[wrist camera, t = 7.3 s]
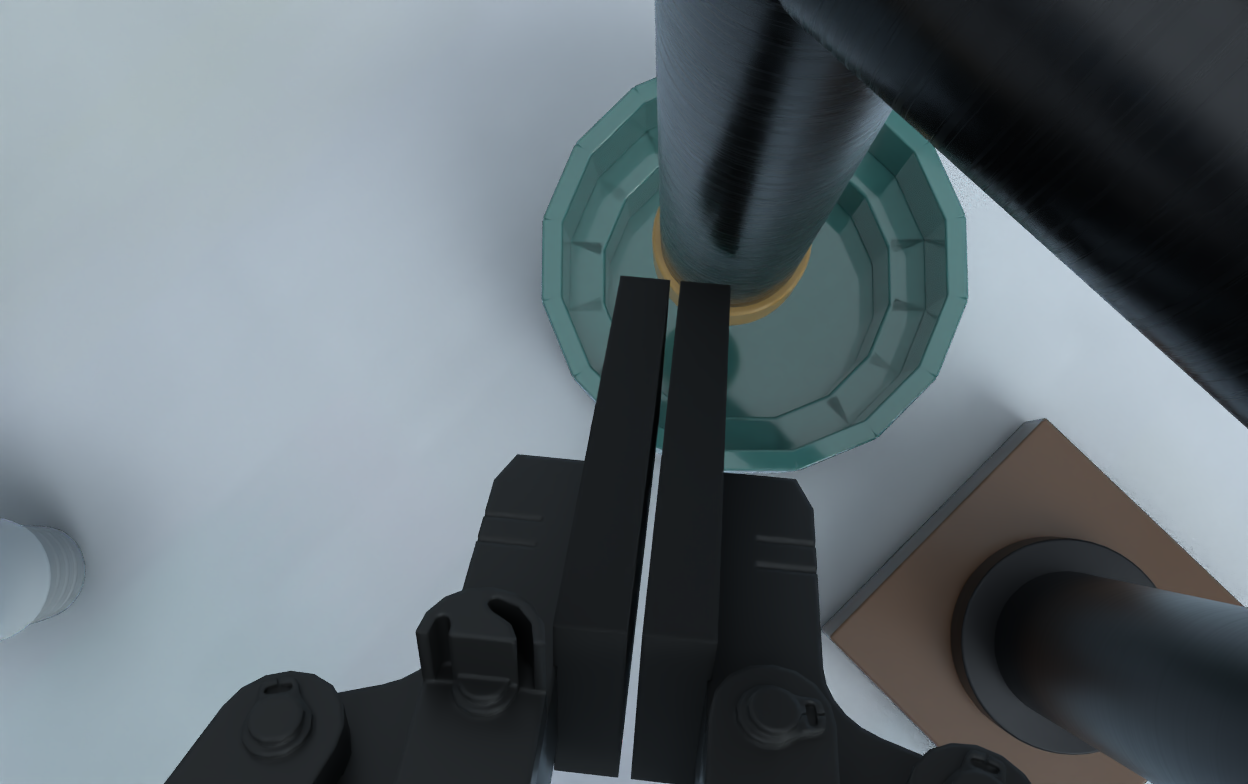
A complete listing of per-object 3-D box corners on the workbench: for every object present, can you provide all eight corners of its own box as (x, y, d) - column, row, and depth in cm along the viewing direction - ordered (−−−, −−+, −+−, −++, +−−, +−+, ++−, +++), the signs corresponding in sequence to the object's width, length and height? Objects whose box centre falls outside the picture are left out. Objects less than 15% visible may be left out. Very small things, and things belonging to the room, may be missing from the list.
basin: (488, 295, 29) (455, 259, 24) (737, 50, 29) (750, -29, 24) (740, 549, 28) (754, 561, 23) (995, 293, 28) (1058, 256, 23)
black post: (819, 629, 27) (1233, 1012, 7) (1025, 420, 28) (1955, 251, 8) (1039, 850, 27) (2156, 1939, 7) (1248, 633, 27) (2919, 1054, 7)
